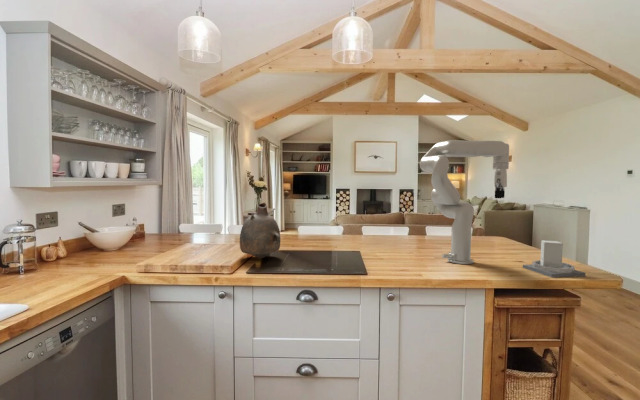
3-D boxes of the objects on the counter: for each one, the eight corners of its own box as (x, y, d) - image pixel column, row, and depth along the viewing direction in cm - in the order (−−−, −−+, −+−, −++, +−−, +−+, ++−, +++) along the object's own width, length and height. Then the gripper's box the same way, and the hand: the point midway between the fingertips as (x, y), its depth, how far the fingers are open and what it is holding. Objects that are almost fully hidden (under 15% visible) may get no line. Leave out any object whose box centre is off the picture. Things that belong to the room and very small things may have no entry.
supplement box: (562, 271, 152) (563, 243, 151) (542, 269, 155) (543, 242, 154) (558, 267, 158) (559, 241, 158) (539, 265, 161) (541, 239, 161)
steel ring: (551, 273, 147) (552, 269, 147) (524, 264, 163) (524, 260, 163) (584, 272, 149) (584, 268, 149) (553, 263, 165) (553, 259, 165)
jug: (230, 262, 170) (230, 203, 169) (246, 253, 191) (246, 201, 190) (276, 264, 166) (276, 204, 165) (287, 255, 187) (288, 202, 186)
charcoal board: (551, 277, 146) (551, 274, 146) (522, 267, 163) (522, 264, 163) (585, 276, 149) (585, 272, 149) (553, 266, 166) (553, 263, 166)
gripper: (506, 165, 172) (504, 198, 173) (510, 167, 186) (509, 197, 187) (489, 166, 177) (488, 198, 177) (495, 167, 190) (494, 197, 191)
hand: (499, 198), depth 182 cm, fingers open, 9 cm apart
